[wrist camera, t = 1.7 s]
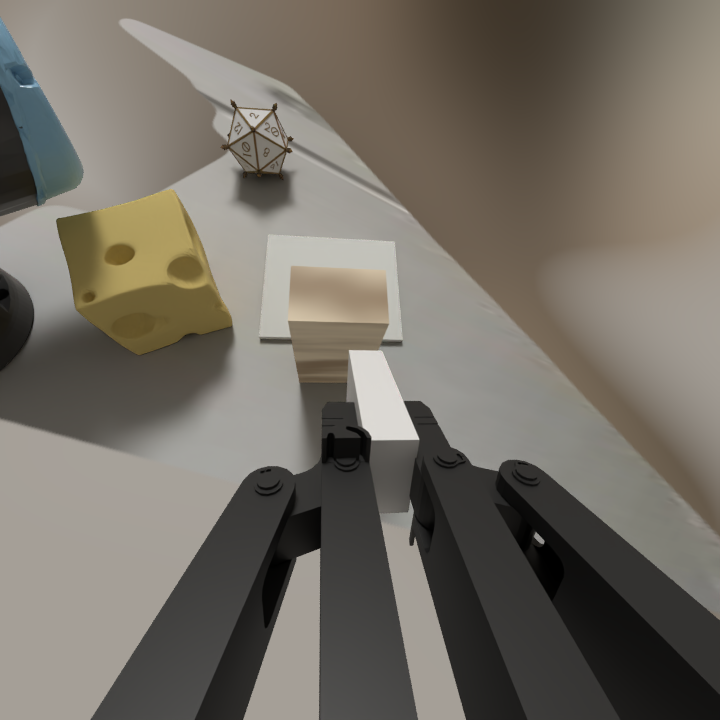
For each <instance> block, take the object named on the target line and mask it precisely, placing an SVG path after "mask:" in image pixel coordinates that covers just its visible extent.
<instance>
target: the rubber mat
mask: <svg viewBox="0 0 720 720" xmlns="http://www.w3.org/2000/svg"><path fill="white" fill-rule="evenodd" d="M291 266H308V267H329V268H351V269H372V270H386V282H387V297H388V312H389V325H388V328H387V330H386V333H385V335H384V337H383V340H382V342H402V340H403V338H402V325H401V313H400V301H399V289H398V277H397V264H396V252H395V242H392V241H375V240H357V239H340V238H322V237H304V236H287V235H269V234H268V243H267V254H266V265H265V276H264V287H263V298H262V309H261V320H260V331H259V338H260V339H287V340H291V335H290V330H289V324H288V309H289V291H290V274H291Z"/></svg>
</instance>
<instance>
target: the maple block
mask: <svg viewBox="0 0 720 720" xmlns="http://www.w3.org/2000/svg"><path fill="white" fill-rule="evenodd" d="M288 324H289V330H290V335H291V340H292V345H293V351H294V356H295V361H296V367H297V372H298V377H299V382H300V383H347V378H348V357H349V350H370V351H378V349H379V347H380V345H381V342H382V340H383V337H384V335H385V333H386V330H387V328H388V325H389V312H388V297H387V282H386V270H372V269H351V268H329V267H308V266H291V274H290V291H289V309H288Z"/></svg>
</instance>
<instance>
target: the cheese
mask: <svg viewBox="0 0 720 720" xmlns="http://www.w3.org/2000/svg"><path fill="white" fill-rule="evenodd" d="M56 222H57V229H58V233H59V238H60V241H61V244H62V248H63V251H64V254H65V257H66V261H67V264H68V268H69V272H70V278H71V283H72V290H73V298H74V304H75V308H76V310H77V311H78V312H79V313H80V314H81V315H82V316H83V317H85V318H86V319H87V320H88V321H89V322H90V323H92V324H93V325H95V326H96V327H97V328H99V329H100V330H102V331H103V332H105V333H106V334H107V335H108V336H109V337H111V338H112V339H113V340H115V341H116V342H117V343H119V344H120V345H122V346H123V347H125V348H126V349H128V350H130V351H132V352H133V353H135V354H137V355H142V354H145V353H148V352H151V351H154V350H157V349H159V348H162V347H165V346H168V345H171V344H173V343H176V342H178V341H179V340H180V339H181V338H182V337H183V336H184V335H186V334H189V333H197V334H200V335H201V334H205V333H209V332H213V331H216V330H220V329H224V328H228V327H231V326H232V318H231V315H230V313H229V311H228V309H227V307H226V306H225V304H224V302H223V301H222V299H221V297H220V295H219V292H218V289H217V287H216V284H215V282H214V279H213V276H212V274H211V271H210V268H209V264H208V261H207V257H206V254H205V251H204V248H203V246H202V243H201V241H200V238H199V236H198V234H197V231H196V229H195V227H194V225H193V223H192V221H191V219H190V217H189V215H188V213H187V211H186V210H185V208H184V206H183V204H182V203H181V201H180V199H179V198H178V196H177V194H176V193H175V191H174V190H172V189H170V190H166V191H162V192H159V193H156V194H153V195H150V196H147V197H144V198H142V199H138V200H135V201H132V202H128V203H124V204H121V205H117V206H113V207H109V208H105V209H101V210H97V211H92V212H88V213H83V214H78V215H74V216H69V217H64V218H58V219H57V220H56Z"/></svg>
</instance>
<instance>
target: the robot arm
mask: <svg viewBox="0 0 720 720" xmlns="http://www.w3.org/2000/svg"><path fill="white" fill-rule="evenodd" d="M83 173H84V172H83V166H82V164H81V161H80V159H79V157H78V155H77V153H76V151H75V149H74V147H73V145H72V144H71V142H70V140H69V138H68V136H67V134H66V132H65V131H64V128H63V127H62V125H61V123H60V121H59V119H58V118H57V116H56V114H55V112H54V110H53V109H52V107H51V105H50V103H49V102H48V100H47V98H46V96H45V95H44V93H43V91H42V89H41V88H40V86H39V84H38V83H37V81H36V80H35V78H34V77H33V74H32V72H31V70H30V69H29V67H28V65H27V63H26V62H25V60H24V58H23V56H22V54H21V52H20V51H19V49H18V47H17V45H16V43H15V42H14V40H13V38H12V36H11V35H10V33H9V31H8V29H7V28H6V26H5V24H4V23H3V21H2V19H1V18H0V216H3V215H6V214H9V213H12V212H16V211H19V210H22V209H25V208H28V207H31V206H34V205H37V206H40V205H42V204H44V203H45V201H46V200H47V199H50V198H52V197H54V196H57V195H59V194H62V193H65V192H67V191H70V190H72V189H75V188H76V187H77V186H78V185H79V184H80V183H81V180H82V178H83ZM32 321H33V305H32V301H31V298H30V295H29V293H28V292H27V290H26V289H25V287H24V286H23V285H22V284H21V283H20V282H19V281H18V280H17V279H15V278H14V277H12V276H11V275H10V274H8V273H7V272H5V271H4V270H2V269H1V268H0V370H1V369H2V368H3V367H4V366H5V365H6V364H7V363H8V362H10V361H11V359H12V358H13V357H14V356H15V355H16V354H17V352H18V351H19V350H20V348H21V347H22V345H23V344H24V342H25V340H26V338H27V336H28V334H29V331H30V329H31V325H32ZM410 500H411V503H412V506H413V510H414V514H413V520H412V526H411V532H410V538H409V542H410V546H412V545H413V543H414V538H415V537H416V541H417V545H418V548H419V552H420V555H421V559H422V563H423V566H424V569H425V573H426V577H427V581H428V584H429V588H430V591H431V595H432V598H433V602H434V606H435V609H436V613H437V617H438V620H439V624H440V627H441V631H442V635H443V638H444V642H445V645H446V649H447V652H448V656H449V660H450V663H451V667H452V670H453V674H454V678H455V681H456V684H457V688H458V692H459V696H460V699H461V702H462V706H463V710H464V713H465V717H466V720H720V620H719V619H717V618H716V617H715V616H714V615H713V614H712V613H710V612H709V611H708V610H707V609H706V608H705V607H703V606H702V605H701V604H700V603H699V602H697V601H696V600H695V599H694V598H693V597H692V596H690V595H689V594H688V593H687V592H686V591H684V590H683V589H682V588H681V587H680V586H679V585H677V584H676V583H675V582H674V581H673V580H671V579H670V578H669V577H668V576H667V575H666V574H664V573H663V572H662V571H661V570H660V569H658V568H657V567H656V566H655V565H654V564H653V563H651V562H650V561H649V560H648V559H647V558H645V557H644V556H643V555H642V554H641V553H640V552H638V551H637V550H636V549H635V548H634V547H633V546H631V545H630V544H629V543H628V542H627V541H625V540H624V539H623V538H622V537H621V536H620V535H618V534H617V533H616V532H615V531H614V530H612V529H611V528H610V527H609V526H608V525H607V524H605V523H604V522H603V521H602V520H601V519H599V518H598V517H597V516H596V515H595V514H594V513H592V512H591V511H590V510H589V509H588V508H586V507H585V506H584V505H583V504H582V503H581V502H579V501H578V500H577V499H576V498H575V497H573V496H572V495H571V494H570V493H569V492H568V491H566V490H565V489H564V488H563V487H562V486H560V485H559V484H558V483H557V482H556V481H555V480H553V479H552V478H551V477H550V476H549V475H548V474H546V473H545V472H544V471H542V470H541V469H540V468H538V467H537V466H535V465H532V464H530V463H528V462H525V461H520V460H507V461H505V462H503V463H502V464H501V466H500V468H499V472H498V471H494V470H489V469H484V468H479V467H476V466H473V465H472V464H471V463H470V461H469V459H468V458H467V457H466V456H465V455H464V454H463V453H461V452H460V451H458V450H457V449H454V448H451V447H450V445H449V443H448V441H447V440H446V438H445V436H444V434H443V432H442V430H441V428H440V427H439V425H438V423H437V421H436V419H435V418H434V416H433V414H432V412H431V410H430V408H429V407H427V406H426V405H425V404H423V403H422V402H421V401H403V399H402V397H401V395H400V392H399V390H398V388H397V385H396V383H395V380H394V378H393V376H392V373H391V371H390V369H389V366H388V364H387V362H386V359H385V357H384V354H383V352H382V351H370V350H349V357H348V378H347V399H346V402H327V404H326V405H325V406H324V408H323V409H322V454H321V459H320V461H319V462H318V464H316V465H315V466H314V467H313V468H312V469H310V470H308V471H306V472H303V473H300V474H296V475H293V474H292V473H291V472H290V471H288V470H287V469H285V468H282V467H278V466H268V467H264V468H260V469H257V470H256V471H254V472H252V473H250V474H249V475H248V476H247V477H246V478H245V479H244V480H243V482H242V483H241V485H240V486H239V488H238V490H237V491H236V493H235V494H234V496H233V497H232V499H231V501H230V502H229V504H228V505H227V507H226V508H225V510H224V512H223V513H222V515H221V516H220V518H219V519H218V521H217V522H216V524H215V526H214V527H213V529H212V530H211V532H210V534H209V535H208V537H207V538H206V540H205V542H204V543H203V545H202V546H201V548H200V549H199V551H198V552H197V554H196V555H195V557H194V559H193V560H192V562H191V563H190V565H189V566H188V568H187V569H186V571H185V573H184V574H183V576H182V577H181V579H180V580H179V582H178V584H177V585H176V587H175V588H174V590H173V591H172V593H171V595H170V596H169V598H168V599H167V601H166V603H165V604H164V606H163V607H162V609H161V610H160V612H159V613H158V615H157V617H156V618H155V620H154V621H153V623H152V624H151V626H150V627H149V629H148V631H147V632H146V634H145V635H144V637H143V638H142V640H141V642H140V643H139V645H138V646H137V648H136V650H135V651H134V653H133V654H132V656H131V657H130V659H129V660H128V662H127V664H126V665H125V667H124V668H123V670H122V671H121V673H120V675H119V676H118V678H117V679H116V681H115V682H114V684H113V686H112V687H111V689H110V690H109V692H108V694H107V695H106V697H105V698H104V700H103V701H102V703H101V704H100V706H99V708H98V709H97V711H96V712H95V714H94V715H93V717H92V718H91V720H243V718H244V715H245V712H246V709H247V706H248V703H249V700H250V697H251V694H252V691H253V688H254V685H255V682H256V679H257V676H258V673H259V670H260V667H261V664H262V661H263V658H264V655H265V652H266V649H267V646H268V643H269V640H270V637H271V634H272V631H273V628H274V625H275V622H276V619H277V616H278V613H279V610H280V607H281V604H282V601H283V598H284V595H285V592H286V589H287V586H288V583H289V580H290V577H291V574H292V571H293V568H294V565H295V562H296V557H298V556H301V555H304V554H306V553H309V552H311V551H314V550H317V549H319V548H320V680H319V681H320V682H319V693H320V694H319V720H418V718H417V712H416V707H415V702H414V696H413V691H412V685H411V680H410V675H409V670H408V664H407V659H406V654H405V649H404V643H403V637H402V632H401V627H400V621H399V616H398V611H397V606H396V601H395V595H394V590H393V585H392V579H391V574H390V569H389V563H388V558H387V552H386V547H385V542H384V537H383V531H382V526H381V520H380V515H379V513H399V512H408V510H409V503H410ZM535 532H537V533H538V534H539V535H540V536H541V537H542V539H543V540H544V541H545V542H544V544H541V543H539V542H538V541H537V540H536V539H535V538H534V535H535Z"/></svg>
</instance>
